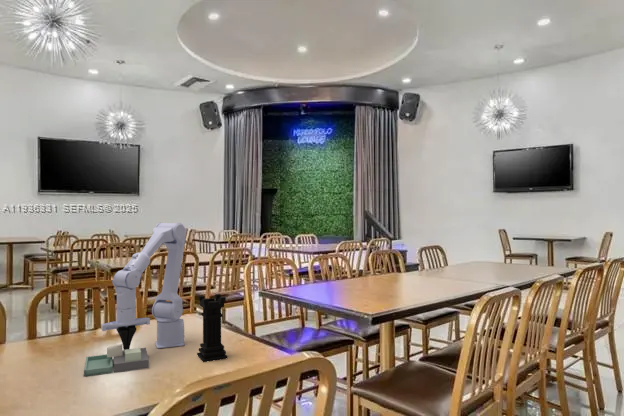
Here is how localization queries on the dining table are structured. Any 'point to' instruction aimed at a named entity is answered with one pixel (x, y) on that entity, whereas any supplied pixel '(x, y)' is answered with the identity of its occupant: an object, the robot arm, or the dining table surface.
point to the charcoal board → (131, 362)
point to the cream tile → (114, 350)
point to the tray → (98, 365)
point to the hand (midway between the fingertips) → (126, 349)
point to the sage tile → (132, 354)
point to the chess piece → (212, 329)
